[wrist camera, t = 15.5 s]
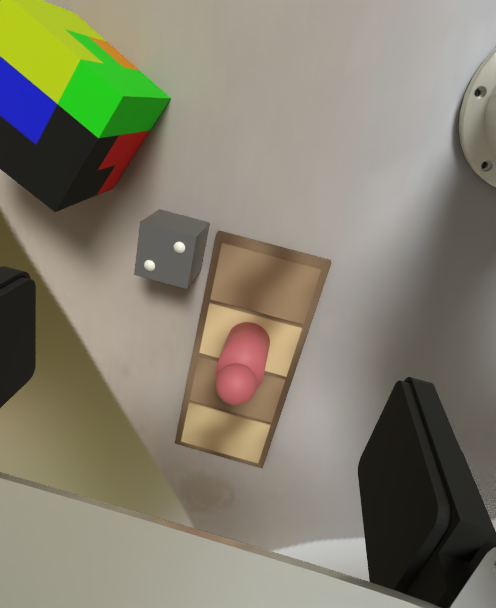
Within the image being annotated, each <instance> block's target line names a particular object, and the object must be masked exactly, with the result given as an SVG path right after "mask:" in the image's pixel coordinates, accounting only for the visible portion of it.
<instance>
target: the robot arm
mask: <svg viewBox="0 0 496 608" xmlns="http://www.w3.org/2000/svg"><path fill="white" fill-rule="evenodd" d="M477 89H479V90H480V94H479V95H478V96H477V97H476V96H475V95H474V92H475V90H477ZM459 135H460V144H461V147H462V150H463V153H464V156H465V158H466V160H467V161H468V163H469V165H470V166H471V168H472V170H473V171H474V172H475V173H476V174H477V175H478V176H479V177H480V178H481V179H482V180H484V181H486V182H487V183H489V184H490V185H492V186H493V187H496V48H495V49H494V50H493V51H492V52H491V53H490V54H489V55H488V56H487V58H486V59H485V60H484V61H483V62H482V64H481V65H480V67H479V68H478V70H477V71H476V73H475V74H474V76H473V77H472V79H471V82H470V84H469V86H468V88H467V90H466V93H465V95H464V99H463V102H462V106H461V110H460V118H459ZM483 162H486V166H485V167H483V168H481V164H482V163H483ZM35 289H36V288H35V282H34V281H33V280H31V279H30V276H29V274H28V273H27V272H23V271H20V270H16V269H13V268H9V267H4V266H3V267H0V408H1V407H2V406H3V405H4V404H5V403H6V402H7V401H8V400H9V399H10V398H11V397H12V396H13V395H14V394H15V393H16V392H17V391H18V390H19V389H21V387H23V386H24V385H25V384H26V383H27V382H28V381H29V380H30V379H31V377H32V376H33V373H34V371H35V306H36V305H35V304H36V302H35V301H36V299H35V296H36V293H35V291H36V290H35ZM358 478H359V487H360V496H361V506H362V515H363V524H364V533H365V542H366V552H367V560H368V570H369V579H370V582H368V581H365V580H361V579H358V578H355V577H352V576H349V575H345V574H343V573H339V572H336V571H333V570H330V569H327V568H324V567H320V566H317V565H314V564H311V563H308V562H304V561H301V560H298V559H294V558H291V557H288V556H284V555H281V554H278V553H274V552H271V551H268V550H264V549H261V548H258V547H254V546H251V545H248V544H244V543H241V542H238V541H234V540H231V539H228V538H224V537H221V536H217V535H214V534H211V533H207V532H204V531H201V530H197V529H194V528H191V527H187V526H184V525H181V524H177V523H173V522H170V521H167V520H164V519H160V518H156V517H153V516H150V515H146V514H143V513H140V512H136V511H133V510H129V509H126V508H122V507H119V506H115V505H112V504H109V503H106V502H102V501H99V500H95V499H92V498H88V497H85V496H81V495H78V494H74V493H71V492H67V491H64V490H61V489H57V488H54V487H51V486H47V485H44V484H40V483H37V482H33V481H30V480H26V479H23V478H19V477H15V476H12V475H9V474H5V473H2V472H0V608H496V532H495V529H494V527H493V525H492V522H491V520H490V517H489V515H488V512H487V510H486V508H485V505H484V503H483V500H482V498H481V496H480V493H479V491H478V488H477V486H476V484H475V481H474V479H473V476H472V474H471V472H470V469H469V467H468V464H467V462H466V460H465V457H464V455H463V453H462V451H461V449H460V447H459V445H458V442H457V440H456V438H455V435H454V433H453V430H452V428H451V425H450V423H449V421H448V418H447V416H446V413H445V411H444V409H443V406H442V404H441V401H440V399H439V396H438V394H437V392H436V389H435V387H434V385H433V384H432V383H429V382H425V381H422V380H418V379H414V378H411V377H408V378H406V379H405V381H404V382H403V381H398V382H397V383H396V384H395V386H394V388H393V390H392V392H391V395H390V397H389V399H388V401H387V403H386V405H385V407H384V409H383V411H382V414H381V416H380V418H379V420H378V422H377V424H376V426H375V428H374V430H373V433H372V435H371V437H370V439H369V441H368V443H367V445H366V447H365V450H364V452H363V454H362V456H361V458H360V461H359V466H358Z"/></svg>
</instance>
